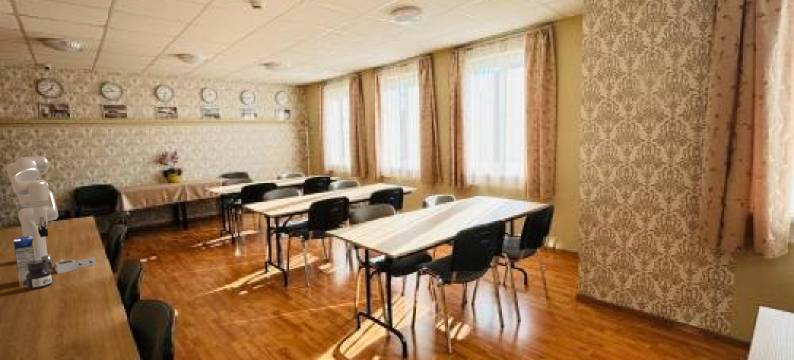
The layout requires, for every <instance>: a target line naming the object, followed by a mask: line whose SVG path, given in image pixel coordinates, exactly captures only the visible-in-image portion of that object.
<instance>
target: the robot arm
mask: <svg viewBox="0 0 794 360" xmlns="http://www.w3.org/2000/svg"><path fill="white" fill-rule="evenodd" d="M49 169H50V162H49V160H48V159H47V157H44V156H41V155H40V156H24V157H18V158H17V159H16V160H15V162H10V163H9V164H7V166H6V173H7V176H8V178H9V180H10V183H11V188H12V190H13V192H14V194H15V195H17V199H18V203H19V205H20V206H21V207H25V208H22V209H20V210H19V211H18V215H17V216H18V219H19V222H20V225H21V229H22V237H25V236H32V235H33V242H34V250H35V258H36V261H38V260H42V259H41V257H42V256H47V255H50V254H48V248H47V247H48V245H47V240H46V237H49V230H48V226H47V225H48V222H49V221H50V222H52V221H55V220H57V219H58V218H59V211H58V207H57V206H58V205H57V202H56V198H55V195H54V192H52V191H51V190H50V189H49V187H50V185H49V183H48V181H46V180H44V179H38V178H39V176H42V175H45V174H46V173H47V172H48V170H49Z"/></svg>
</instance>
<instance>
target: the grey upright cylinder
mask: <svg viewBox="0 0 794 360" xmlns="http://www.w3.org/2000/svg"><path fill="white" fill-rule="evenodd" d="M41 259H42V260H46V263H47V268H46V269H48V270H52V269H53V268H54V267H53V261H52V259H53V258H52V255H51V254H49V255H47V256H42V257H41Z"/></svg>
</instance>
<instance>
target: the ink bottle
mask: <svg viewBox="0 0 794 360" xmlns="http://www.w3.org/2000/svg"><path fill="white" fill-rule="evenodd" d="M27 267H28V271H29V273H28V274H27V275H26V282H27V285H26V287H27V289H28V290H38V289H43V288H46V287H49V286H51V285H52V284H53V280H52V272H51V269H46V268H47V263H46V260H38V261H33V262H29V263H27Z"/></svg>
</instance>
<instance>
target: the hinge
mask: <svg viewBox="0 0 794 360" xmlns="http://www.w3.org/2000/svg"><path fill="white" fill-rule="evenodd" d="M94 265H95V266H96V257H94V256H93V257H88V258H84V259H79V260H75V259H73V258H72V259H67V260H65V259H63V258H59V261H57V262H54V268H55V269H54V270H55V272H56V273H57V275H58V274H64V273H67V272H74V271H77V270H78V269H82V268H84V267H85V268H86V267H89V266H94Z"/></svg>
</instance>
